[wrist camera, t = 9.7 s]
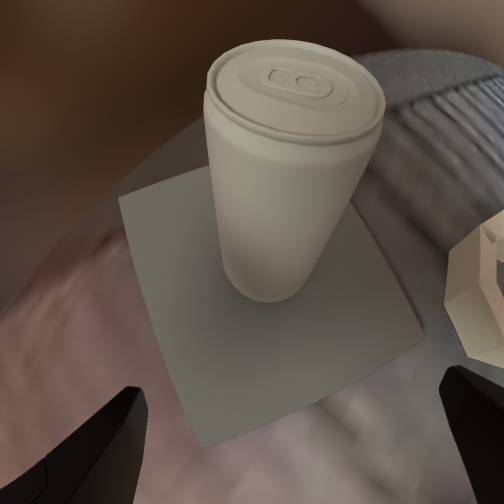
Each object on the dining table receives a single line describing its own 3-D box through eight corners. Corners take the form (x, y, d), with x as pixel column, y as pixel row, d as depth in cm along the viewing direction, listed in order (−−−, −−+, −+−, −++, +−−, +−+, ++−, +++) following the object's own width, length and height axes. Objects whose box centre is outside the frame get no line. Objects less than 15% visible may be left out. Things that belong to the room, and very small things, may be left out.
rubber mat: (419, 339, 17) (426, 337, 16) (202, 445, 14) (200, 448, 13) (304, 144, 23) (306, 137, 22) (121, 204, 20) (118, 197, 19)
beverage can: (296, 316, 17) (390, 174, 6) (210, 290, 17) (164, 115, 6) (316, 239, 19) (390, 64, 8) (239, 216, 19) (239, 27, 8)
